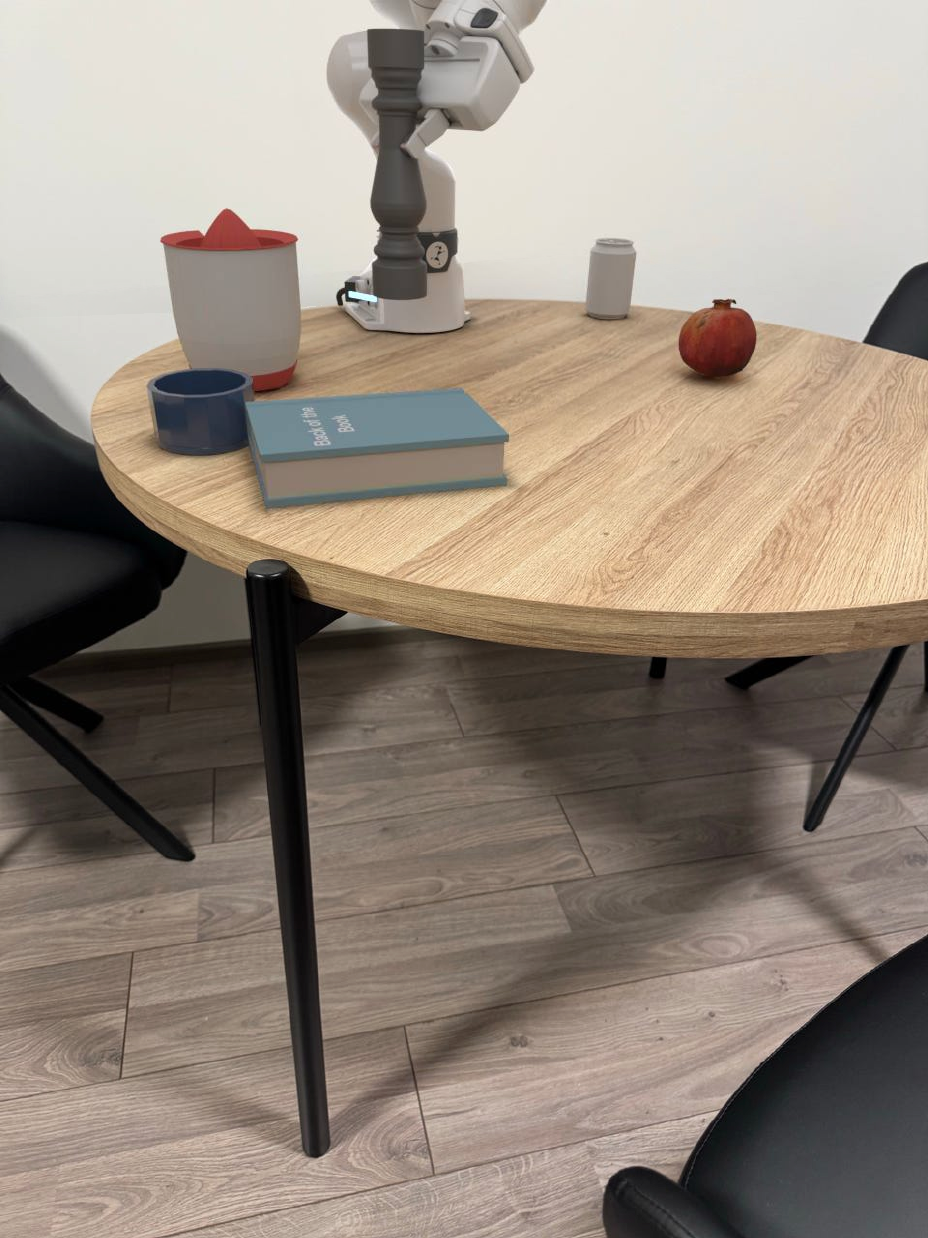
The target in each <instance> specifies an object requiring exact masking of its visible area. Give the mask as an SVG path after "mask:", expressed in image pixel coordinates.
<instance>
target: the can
mask: <svg viewBox="0 0 928 1238" xmlns="http://www.w3.org/2000/svg"><path fill="white" fill-rule="evenodd" d="M634 243H635V242H634V240H631V239H627V238H617V237H601V238H597V239H595V244H594V245H593V246H592V248H590V253H589V265H588V274H587V275H588V277H587V285H586V297H585V307H584V309H585V311H586V312H587V313H588V315H589V316H590V317H592V318H595V319H599V320H621V319H624V318H625V317H626V316H627V315H628V314H629V313H630V312H631V303H632V295H633V286H634V279H635V270H636V269H635V268H636V260H637V251H636V249H635V247H634Z"/></svg>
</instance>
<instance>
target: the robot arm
mask: <svg viewBox="0 0 928 1238" xmlns="http://www.w3.org/2000/svg"><path fill="white" fill-rule="evenodd" d="M549 1H550V0H369V2H370V4H371V5H372V7H373V8H374V10H375V11H376V13H378V14H379V15H380V16H381V17H383V18H384V19H385V20H387V21H388V22H390V23H391V24H393V25H394V26H395V27H396V28H397V29H410V30H421V31H424V69H423V70H422V72H421V75H422V78H421V80H420V82H419V83H418V88H417V89H416V91H415V95H416V97H417V98H419V100H420V102H421V106H422V109H421V110H420V111H417V116H416V130H415V131H414V132H408V133H407V135H406V136H405V139H404V140H403V141H402V142H401V144H400V148H401V150H402V151H403V152H404V153H405V155H406V156H407V157H409V158H418V162H419V167H420V172H421V177H422V182H423V187H424V191H425V196H426V201H427V209H426V213H425V215H424V218H423V220H422V221H421V223H420V224H419V225H418V228H419V231H418V233H416V237H417V238H418V239H419V241H420V242H421V245H422V246H423V247H424V249H425V254H424V255H423V256H422V258H421V260H423V261H425V262H426V264H427V296H426V297H424V298H420V299H413V300H388V299H382V298H377V297H375V296H373V283H372V262H374V261H375V260H376V259H377V256H376V255H375V256H374V258H373V259H372V260H371V261H370V263H369V264H368V265H367V267H365V269H363V271H362V272H361V273H360V275H352V276H351V277H349V278H348V279H347V280H345V281H344V286H343V287H341V288H339V289H338V291H337V292H336V294H335V298H336V299H335V300H336V303H337V306H339V307H342V306H344V302H345V303H348V304H346V305H345V312H347V314H348V315H349V316H351V317H352V318H353V319H354V320H355V321H356V322H357V323H358V324H359V325H361V327H363V328H364V329H365V330H370V331H389V332H396V333H397V332H399V333H409V334H410V333H413V334H414V333H415V334H426V333H427V334H428V333H430V334H431V333H440V332H441V333H442V332H448V331H453V330H457V329H460V328H461V327H463V326H464V325H465V322H467V321H470V320H471V319H472V317H471V312H470V311H468V310H466V303H465V285H464V269H463V266H462V264H460V262H458V260H457V258H456V255H457V254H458V253H459V252H458V249H459V247H458V245H459V237H458V236H459V235H458V234H459V233H458V228H456V181H457V180H456V177H455V176H456V175H455V173H454V170H453V169H452V167H451V165H450V164H449V163H448V162H447V161H446V160H445V159H444V158H443V157H441V156H439V155H438V154H437V153H435V152H434V151H431V150H430V149H429V148H427V147H429V146H430V145H432V144H433V143H434V142H436V141H437V140H438V139H440V138H441V137H442V136H444V134H445V133H446V131H447V130H457V131H471V132H473V131H474V132H484V131H486V130H488V129H490V128H491V127H492V126H494V125H495V124H497V122H498V121H499V120H500V119H501V118H502V116H503V115H504V114H505V112H506V111H507V109H508V108H509V106H511V104H512V103H513V101H514V99H515V98H516V96H517V94H518V93H519V91H520V89H521V85H522V84H525V83H526V82H527V81H528V80H529V79H530V78H531V76H532V75H533V73H534V71H535V66H534V63H533V61H532V58H531V57H530V55H529V53H528V51H527V49H526V46H525V44H524V42H523V41H522V39H521V36H522V35H523V33H524V32H525V31H526V30H527V29H528V28H530V27H531V26H532V25H533V24H534V23H536V21H537V20H538V18H539V17H540V16H541V14H542V12H543V11H544V9H545V7H547V5H548V3H549ZM325 74H326V83H327V88H328V91H329V96H330V97H331V99H332V102H333V103H334V105H335V106H336V108H337V109H338V111H340V113H341V114H342V115H343V117H345V118H346V119H348V120H349V121H350V122H351V123H352V124H353V125H354V126H355V127H356V128H357V130H358V131H359V132H360V133H361V135H362V136H363V138H364V139H365V141H366V142H367V145H368V146H369V148H370V151H371V152H372V155H373V158H374V160H375V164H376V165H377V159H378V153H379V116H378V115H377V110H374V109H373V108H372V100H373V99H374V98H375V97H376V96H377V95H378V89H377V88H376V87H375V82H374V80H373V79H372V77H371V69H370V68H369V67H368V43H367V30H362V31H357V32H353V33H348V34H343V35H341V36H339V37H338V39H336V41H335V43H334V44H333V46H332V48H331V50H330V52H329V55H328V58H327V62H326V73H325ZM376 232H378V235H376V238H377V242H378V240H379V238H380V237H382V233H381V232H380V231H379V229H376ZM343 295H344V300H343Z"/></svg>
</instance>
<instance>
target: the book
mask: <svg viewBox="0 0 928 1238" xmlns="http://www.w3.org/2000/svg"><path fill="white" fill-rule="evenodd" d="M245 411H246V420H247V429H248V438H249V450H250V451H249V452H250V454H251V458H252V461H253V466H254V469H255V473H256V477H257V480H258V485H259V488H260V491H261V496H262V499H263V503H264V506H265V509H274V508H275V509H276V508H284V507H296V506H305V505H315V504H326V503H337V502H346V501H347V502H348V501H357V500H368V499H377V498H389V497H399V496H407V495H408V496H409V495H418V494H429V493H438V492H451V491H459V490H469V489H470V490H471V489H479V488H489V487H500V486H501V487H502V486H507V482H508V478H507V476H506V475H505V474H504V459H505V458H504V457H505V443H510V434H509V432H508V431H506V429H504V428H503V427H502V425H500V424H499V423H498V422H497V421H496V420H495V419H494V418H493V417H492V416H491V415H490V414H489V413H488V412H487V411H486V410H485V408H483V407H482V406H481V405H480V404H479V403H478V402H477V401H476V400H475V399H473V397H472V396H471V395H470V394H469V393H468V392H465V390H464V388H463V387H456V388H455V387H454V388H441V389H425V390H411V391H410V390H409V391H396V392H395V391H394V392H393V391H392V392H379V393H364V394H349V395H333V396H332V395H331V396H317V397H304V398H303V397H302V398H287V399H273V400H255V402H245Z"/></svg>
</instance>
